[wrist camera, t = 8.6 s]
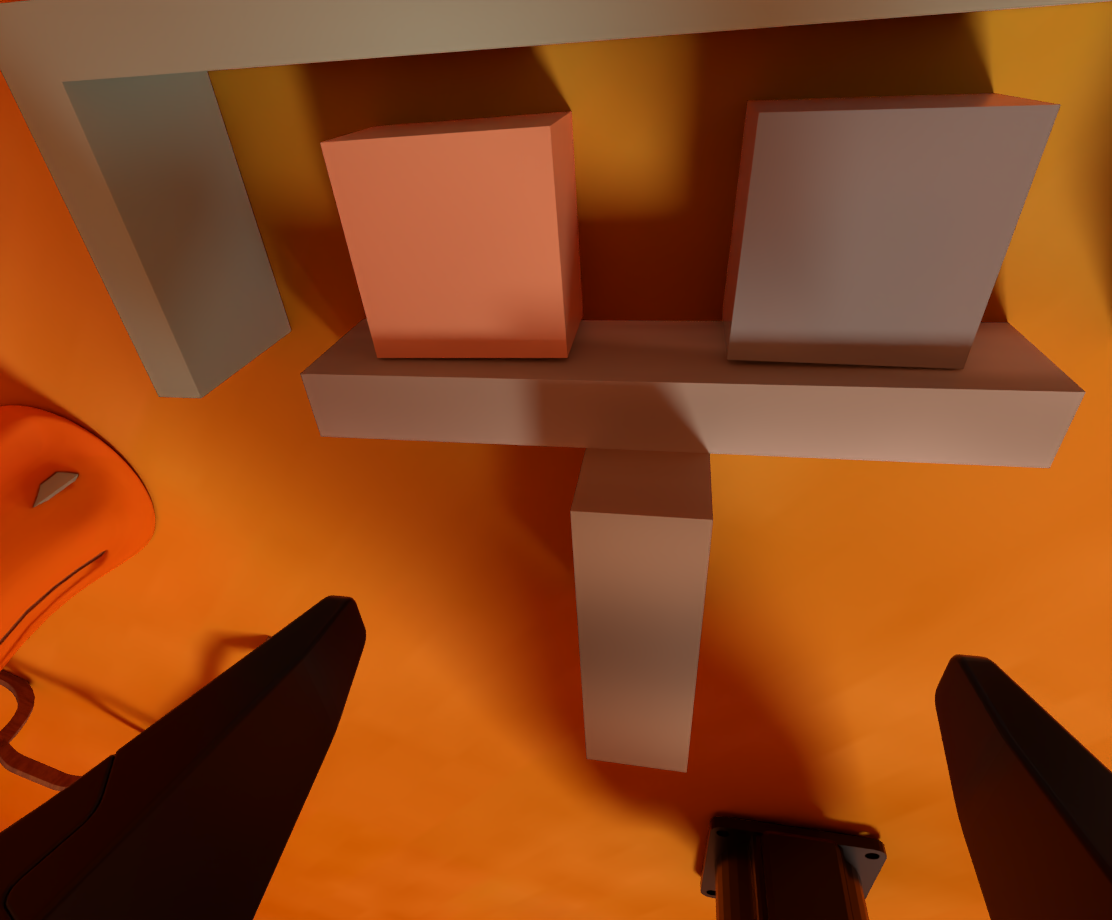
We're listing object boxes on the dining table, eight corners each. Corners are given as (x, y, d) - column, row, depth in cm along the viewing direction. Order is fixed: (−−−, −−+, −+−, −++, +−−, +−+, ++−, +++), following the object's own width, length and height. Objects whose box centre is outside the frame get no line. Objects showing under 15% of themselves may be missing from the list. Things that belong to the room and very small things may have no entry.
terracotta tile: (584, 310, 14) (567, 357, 12) (419, 313, 15) (376, 357, 13) (573, 110, 12) (550, 126, 10) (379, 124, 12) (320, 142, 10)
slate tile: (919, 316, 13) (963, 368, 11) (721, 311, 13) (727, 359, 11) (988, 91, 10) (1060, 104, 8) (746, 99, 11) (758, 112, 9)
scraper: (893, 630, 18) (955, 808, 13) (432, 589, 20) (367, 728, 16) (1007, 321, 12) (1162, 462, 8) (363, 318, 15) (241, 424, 11)
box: (1176, 339, 12) (1328, 434, 9) (255, 330, 15) (158, 396, 13) (1421, -114, 8) (1806, -192, 5) (141, 13, 12) (-31, 7, 9)
